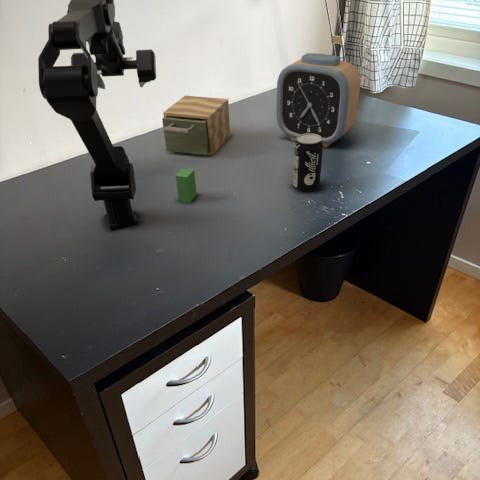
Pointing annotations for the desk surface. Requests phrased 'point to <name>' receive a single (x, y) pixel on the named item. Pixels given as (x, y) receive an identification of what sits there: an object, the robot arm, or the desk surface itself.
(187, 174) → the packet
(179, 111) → the cabinet
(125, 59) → the robot arm
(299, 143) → the beverage can
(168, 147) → the drawer
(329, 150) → the desk surface
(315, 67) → the alarm clock
